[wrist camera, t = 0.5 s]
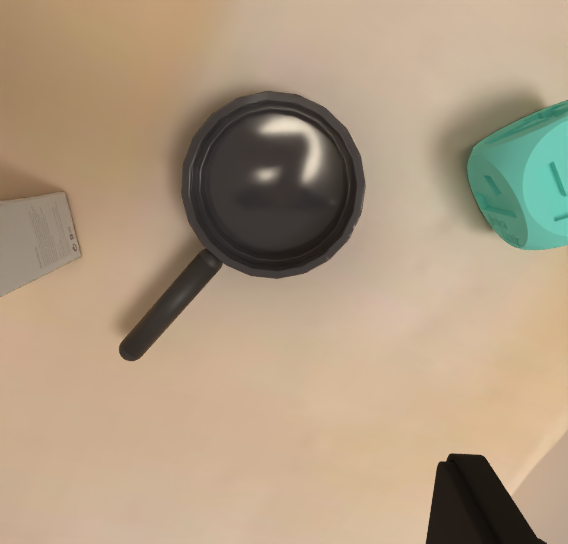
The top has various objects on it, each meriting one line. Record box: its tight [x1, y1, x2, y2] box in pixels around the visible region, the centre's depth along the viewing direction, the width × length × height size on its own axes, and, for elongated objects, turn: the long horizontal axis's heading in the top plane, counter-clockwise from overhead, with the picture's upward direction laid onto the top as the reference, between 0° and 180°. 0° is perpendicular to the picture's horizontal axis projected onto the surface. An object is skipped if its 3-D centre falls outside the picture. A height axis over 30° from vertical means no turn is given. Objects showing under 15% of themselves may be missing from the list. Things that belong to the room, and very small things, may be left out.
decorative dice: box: [467, 100, 568, 250], centre depth 32 cm, size 8×8×8 cm
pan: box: [181, 91, 365, 279], centre depth 34 cm, size 13×13×4 cm
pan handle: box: [119, 249, 223, 361], centre depth 35 cm, size 12×2×2 cm, turn 138°
